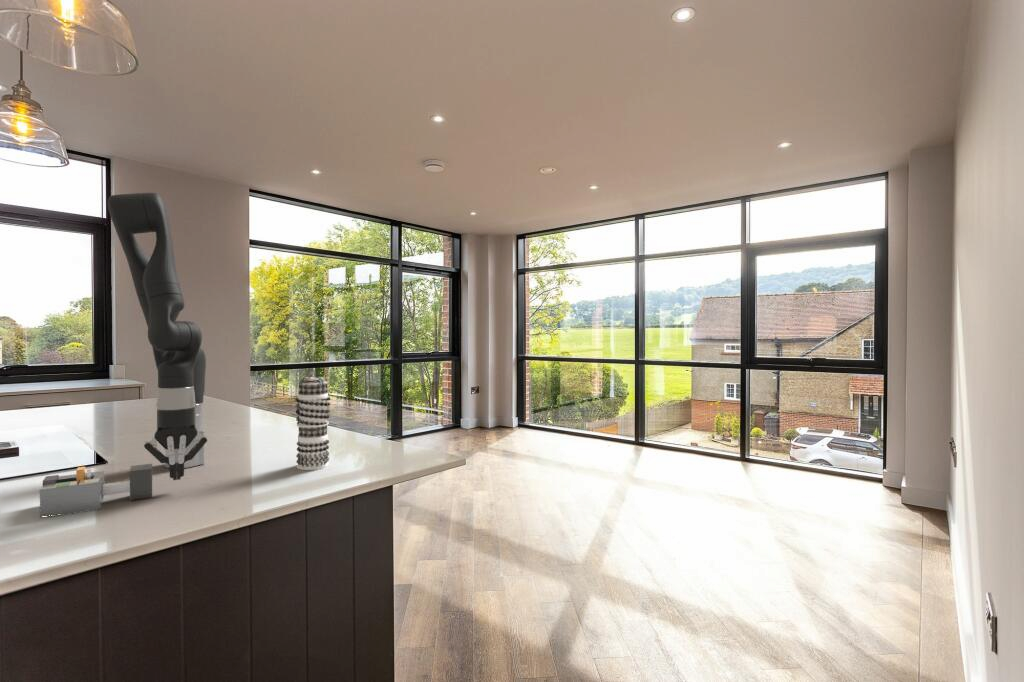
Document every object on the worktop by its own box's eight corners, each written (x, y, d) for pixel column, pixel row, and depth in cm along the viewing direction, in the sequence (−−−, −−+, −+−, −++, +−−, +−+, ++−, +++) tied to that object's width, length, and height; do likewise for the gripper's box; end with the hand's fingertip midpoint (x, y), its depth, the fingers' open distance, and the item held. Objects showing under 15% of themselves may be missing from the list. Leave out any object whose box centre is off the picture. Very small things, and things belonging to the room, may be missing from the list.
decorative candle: (326, 469, 141) (327, 379, 140) (291, 470, 139) (291, 379, 138) (333, 461, 150) (333, 375, 149) (299, 462, 148) (300, 375, 147)
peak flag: (85, 498, 113) (85, 466, 112) (84, 501, 110) (83, 469, 110) (78, 499, 112) (78, 467, 112) (76, 502, 110) (76, 470, 109)
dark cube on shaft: (152, 491, 120) (152, 459, 120) (152, 497, 116) (151, 464, 116) (89, 499, 114) (88, 466, 114) (86, 506, 110) (86, 471, 109)
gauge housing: (104, 496, 117) (104, 466, 117) (100, 509, 109) (99, 477, 109) (49, 503, 112) (48, 472, 112) (40, 518, 104) (39, 484, 103)
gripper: (207, 401, 127) (208, 471, 128) (142, 406, 120) (142, 479, 120) (210, 405, 121) (210, 478, 121) (140, 410, 113) (141, 488, 114)
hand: (176, 479), depth 121 cm, fingers closed
